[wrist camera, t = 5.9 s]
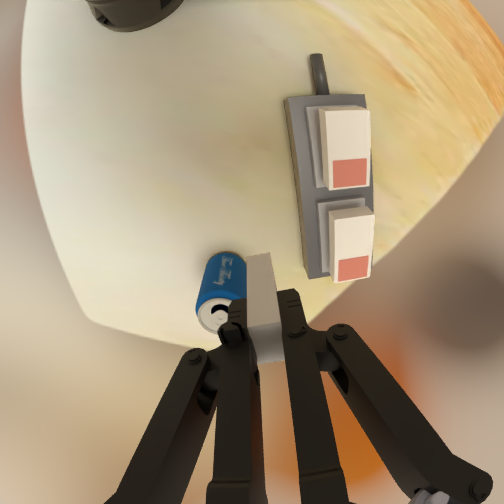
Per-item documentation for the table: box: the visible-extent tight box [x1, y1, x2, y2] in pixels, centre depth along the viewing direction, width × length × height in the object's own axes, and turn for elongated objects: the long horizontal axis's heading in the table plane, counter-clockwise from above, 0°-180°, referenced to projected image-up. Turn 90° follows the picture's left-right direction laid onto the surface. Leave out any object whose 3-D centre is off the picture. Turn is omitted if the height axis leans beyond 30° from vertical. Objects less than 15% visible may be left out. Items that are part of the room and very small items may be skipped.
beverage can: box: [196, 253, 247, 335], centre depth 38 cm, size 6×6×12 cm
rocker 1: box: [319, 107, 371, 190], centre depth 27 cm, size 9×5×2 cm, turn 9°
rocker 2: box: [329, 206, 375, 284], centre depth 32 cm, size 9×5×3 cm, turn 9°
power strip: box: [284, 54, 373, 279], centre depth 34 cm, size 31×10×5 cm, turn 9°
